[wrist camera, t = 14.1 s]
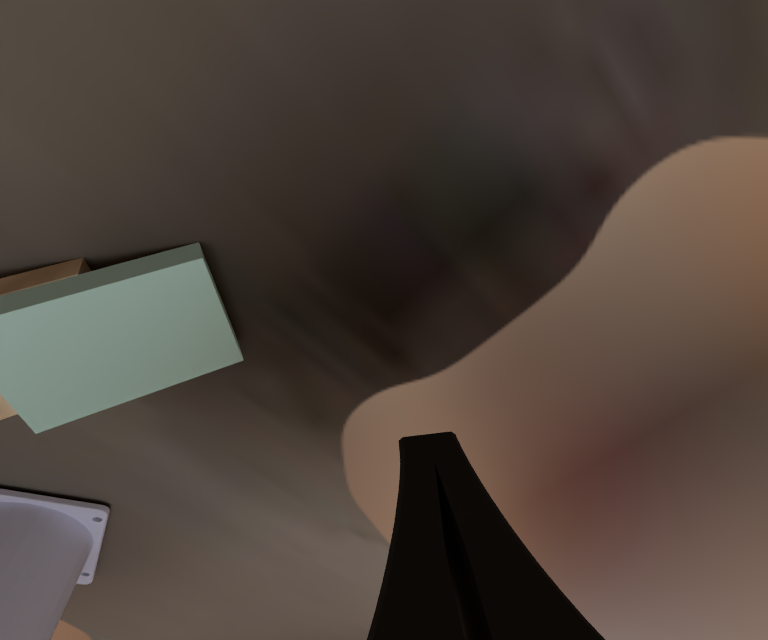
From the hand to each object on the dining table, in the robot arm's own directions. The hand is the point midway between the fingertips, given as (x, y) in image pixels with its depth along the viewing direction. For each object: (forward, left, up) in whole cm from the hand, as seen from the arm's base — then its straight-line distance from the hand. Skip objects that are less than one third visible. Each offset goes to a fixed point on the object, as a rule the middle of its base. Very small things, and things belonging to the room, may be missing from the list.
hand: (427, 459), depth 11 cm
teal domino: (-4, +6, -9) cm, 11 cm away
